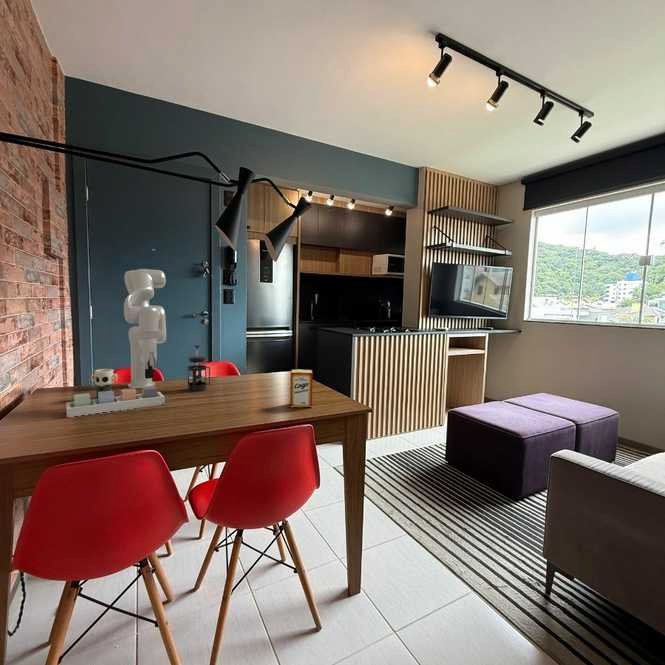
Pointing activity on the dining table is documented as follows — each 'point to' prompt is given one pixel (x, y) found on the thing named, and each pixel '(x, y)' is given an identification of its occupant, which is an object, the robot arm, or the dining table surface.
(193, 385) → the french press
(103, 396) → the key blue
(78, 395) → the key sage
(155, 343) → the robot arm
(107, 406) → the keypad housing
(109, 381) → the character mug
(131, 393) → the key terracotta
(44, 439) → the dining table surface
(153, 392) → the key charcoal
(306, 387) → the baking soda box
